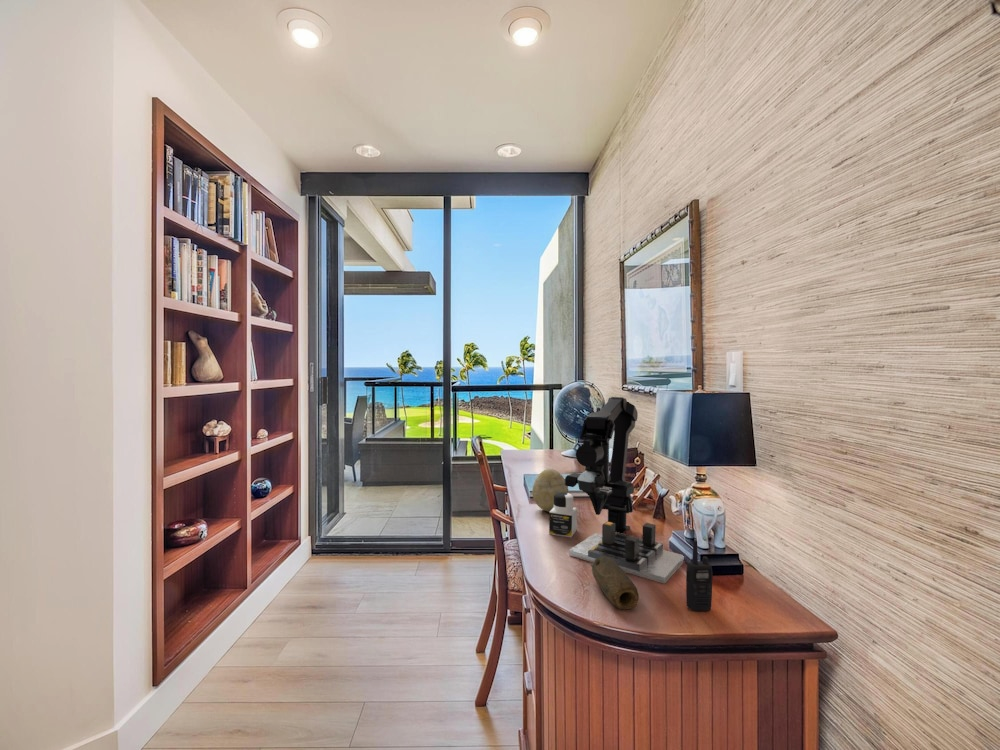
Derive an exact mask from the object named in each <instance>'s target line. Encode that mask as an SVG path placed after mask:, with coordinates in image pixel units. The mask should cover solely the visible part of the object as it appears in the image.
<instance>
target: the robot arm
mask: <svg viewBox="0 0 1000 750" xmlns="http://www.w3.org/2000/svg"><path fill="white" fill-rule="evenodd" d="M637 420H638V410H637V408H636V406H635V405H634V404H632V403H631V402H629V401H628V400H627V398H624V397H622V396H611V397H609V398H608V400H607V402H606V403H605V404H604V405H603V407H601V408H600V410H598V411H594V412H591V413H589V414H587V416H586V417H585V418H584V420H583V423H582V424H583V425H582V428H581V431H580V437H579V440H581V441H582V445H580V446H578V448H577V450H576V452H575V458H576V461H577V462H578V463H579V464H580V465H582V466H583V467H585V469H584V471H583V472H582V473H578V472H573V473H570V474H567V475H566V476H565V477H564V479H565V486H568V487H570V488H575V487H576V486H577V485H578V489H579V491H582V493H586V495H588V496H589V499H590V502H591V504H592V508H593V510H594V512H595V513H594V514H595V515H597V516H600V515H601V513H602V510H607V522H611V523H615V532H617V533H621V534H624V533H625V532H627V531H628V530H629V529H630V528H631V526H630V525H627V514H630V513H633V512H634V510H633V509H634V508H633V507H634V506H633V504H634V503H633V500H632V498H631V495H632V494H634V493H635V486H634V484H633V483H632V482H631V481H626V471H627V469H626V468H627V460H628V459H627V458H628V448H629V447H628V446H629V437H630V436H629V435H630V434H631V433H632V431H633V430H634V428H635V425H636V422H638V421H637ZM612 438H613V441H612V442H613V443H612V444H613V445H612V452H611V453H612V455H611V462H610V440H611V439H612Z"/></svg>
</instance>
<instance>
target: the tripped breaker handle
mask: <svg viewBox="0 0 1000 750" xmlns="http://www.w3.org/2000/svg"><path fill="white" fill-rule="evenodd" d="M601 527H602V528H601V529H602V532H601V534H602V543H606V544H610V545H611V544H612V543H614V542H615V523H611V522H608V521H605V522H604V523H602V526H601Z"/></svg>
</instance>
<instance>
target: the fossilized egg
mask: <svg viewBox="0 0 1000 750" xmlns="http://www.w3.org/2000/svg"><path fill="white" fill-rule="evenodd" d="M560 492H565V493H569V486H565V477H564V476H563V475H562V474H561V473H560V472H559V471H558V470H557V469H555V468H546V469H544V470H542V471H541V472H540V473H539V474H538V475H537V477H536V478H535V479H534V482H533V484H532V493H531V494H532V498H533V500H534V502H535V504H536V505H537V506H538V507H539V509H541V510H542V511H545V512H550V511H551V510H552V508H553V507H554V495H555V494H556V493H560Z"/></svg>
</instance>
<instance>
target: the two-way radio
mask: <svg viewBox="0 0 1000 750" xmlns="http://www.w3.org/2000/svg"><path fill="white" fill-rule="evenodd" d="M698 548H699V547H698V540H696V539H693V541H692V558H691V559H690V561H689V562H688V563H687V565H686V572H685V573H686V574H685V579H686V580H685V581H686V582H685V584H686V585H685V586H686V588H685V595H686V599H685V600H686V607H687V608H688V609H689V610H690V611H694V612H701V611H702V612H703V611H704V612H705V611H707V612H708V611H711V609H712V603H713V601H712V600H713V599H712V598H713V575H714V574H713V567H712V565H711V564H710V563H709V559H708V557H707V556H705V555H704V556H702V560H701V561H700V560H698V559H699V557H698V554H699V553H698V552H699V550H698Z"/></svg>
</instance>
